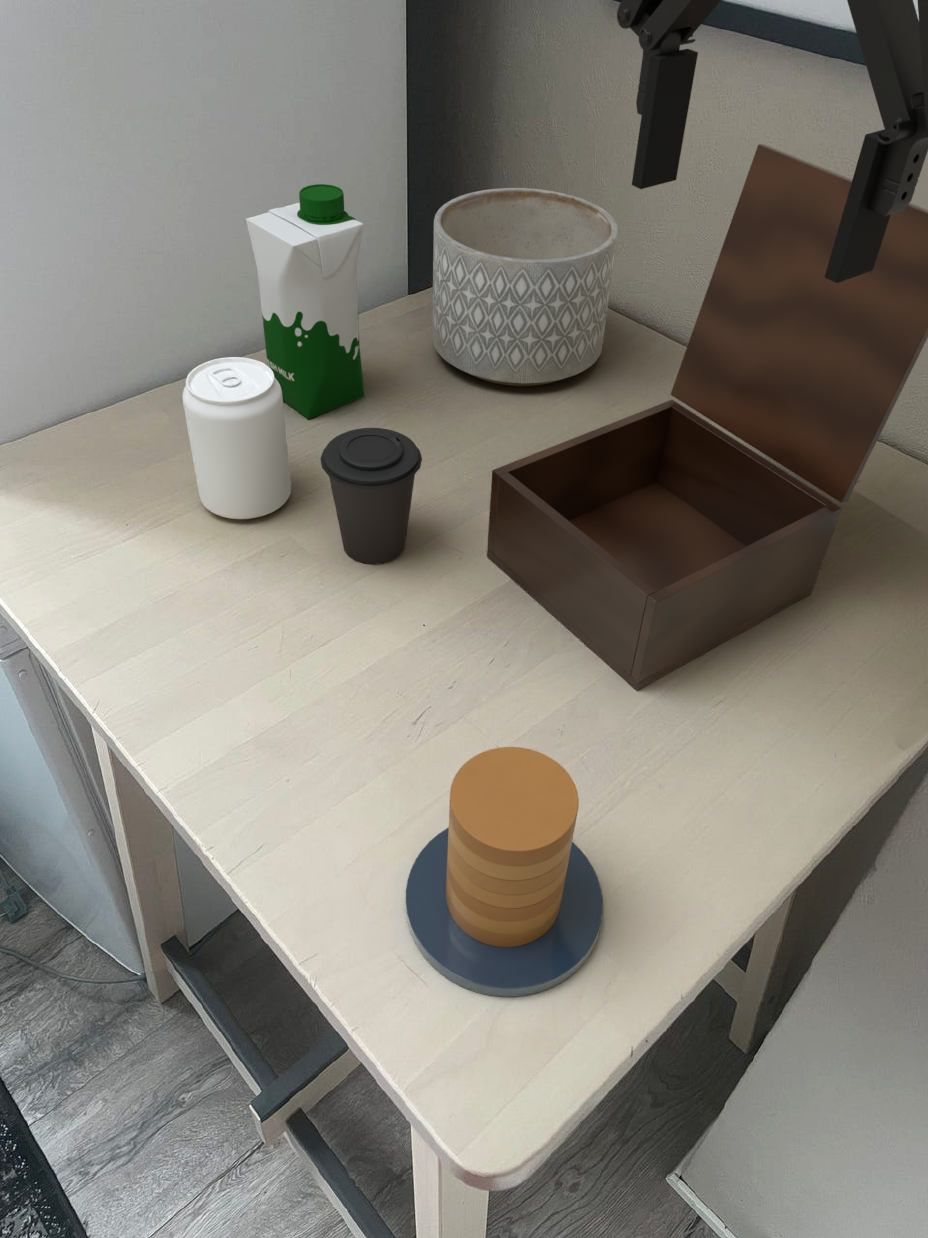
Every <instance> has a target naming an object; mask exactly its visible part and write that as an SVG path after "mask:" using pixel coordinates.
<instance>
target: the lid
mask: <svg viewBox="0 0 928 1238" xmlns="http://www.w3.org/2000/svg"><path fill="white" fill-rule="evenodd" d="M852 180H853V178H852V179H851V178H849V177H846V176H844V175H841V174H839V173H836V172H835V171H832V170H830V169H826V168H824V167H822V166H819V165H817V164H814V163H812V162H809V161H806V160H804V159H802V158H799V157H797V156H795V155H792V154H789V153H787V152H784V151H782V150H780V149H777V148H774V147H772V146H769V145H767V144H761V143H758V145H757V146H756V149H755V152H754V155H753V158H752V160H751V164H750V165H749V170H748V173H747V175H746V178H745V181H744V184H743V186H742V189H741V192H740V195H739V199H738V201H737V204H736V206H735V209H734V212H733V215H732V218H731V221H730V224H729V227H728V229H727V232H726V235H725V237H724V240H723V244H722V246H721V249H720V252H719V255H718V258H717V261H716V264H715V265H714V269H713V271H712V275H711V277H710V281H709V283H708V286H707V289H706V291H705V295H704V298H703V300H702V303H701V307H700V309H699V311H698V315H697V317H696V320H695V324H694V326H693V329H692V332H691V335H690V337H689V340H688V343H687V346H686V349H685V351H684V354H683V358H682V360H681V363H680V366H679V369H678V371H677V375H676V378H675V380H674V382H673V386H672V389H671V392H670V396H672V397H673V398H675V399H676V400H677V401H680V402H681V403H683V404H685V405H686V406H688V407H689V408H691V409H692V410H694V411H695V412H697V413H699V414H700V415H702V416H703V417H705V418H707V420H710V421H711V422H713V423H715V424H716V425H718V426H719V427H721V428H722V429H724V430H726V431H727V432H728V433H730V434H732V435H733V436H735V437H736V438H738V439H740V440H741V441H743V442H745V443H746V444H748V445H749V446H750V447H752V448H754V449H756V450H757V451H759V452H760V453H762V454H763V455H765V456H766V457H768V458H770V459H771V460H773V461H774V462H776V463H777V464H779V465H780V466H782V467H784V468H785V469H787V470H788V471H790V472H792V473H793V474H795V475H796V476H798V477H800V478H801V479H803V480H805V481H806V482H808V483H809V484H811V485H813V486H814V487H816V488H817V489H819V490H820V491H822V492H823V493H825V494H827V495H828V496H829V497H831V498H833V499H834V500H836V501H837V502H839V503H840V504H842V503H843V504H844V503H846V502H848V501H849V499H850V497H851V495H852V493H853V491H854V490H855V487H856V485H857V483H858V481H859V478H860V477H861V475H862V472H863V470H864V469H865V467H866V465H867V462H868V460H869V458H870V456H871V454H872V452H873V450H874V448H875V447H876V444H877V442H878V441H879V438H880V436H881V433H882V432H883V430H884V427H885V426H886V424H887V422H888V420H889V418H890V416H891V414H892V411H893V409H894V407H895V405H896V403H897V401H898V399H899V398H900V395H901V393H902V391H903V388H904V387H905V385H906V383H907V381H908V379H909V377H910V376H911V375H910V374H911V373H912V370H913V369H914V367H915V364H916V363H917V360H918V358H919V356H920V354H921V352H922V350H923V348H924V347H925V344H926V342H927V340H928V209H926V208H924V207H922V206H919V205H916V204H914V203H911V202H910V203H909V204H908V206H907V207H906V208H905V209H904V210H903V211H900V212H897V213H893V214H891V215H890V218H889V222H888V225H887V228H886V231H885V234H884V237H883V240H882V244H881V247H880V250H879V253H878V256H877V259H876V262H875V265H874V269H873V270H872V271H870V272H867V273H864V274H861V275H858V276H856V277H853V278H850V279H847V280H845V281H842V282H839V283H835V282H833V281H831V280H829V279H827V278H825V274H826V270H827V267H828V263H829V260H830V256H831V253H832V249H833V246H834V242H835V239H836V235H837V232H838V228H839V225H840V221H841V218H842V214H843V211H844V207H845V204H846V200H847V197H848V193H849V190H850V186H851V183H852Z"/></svg>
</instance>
